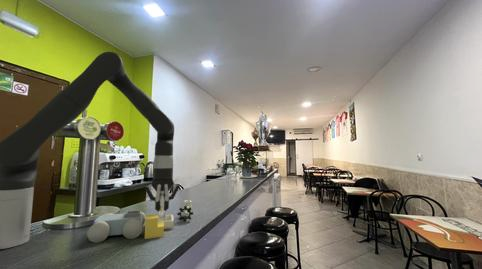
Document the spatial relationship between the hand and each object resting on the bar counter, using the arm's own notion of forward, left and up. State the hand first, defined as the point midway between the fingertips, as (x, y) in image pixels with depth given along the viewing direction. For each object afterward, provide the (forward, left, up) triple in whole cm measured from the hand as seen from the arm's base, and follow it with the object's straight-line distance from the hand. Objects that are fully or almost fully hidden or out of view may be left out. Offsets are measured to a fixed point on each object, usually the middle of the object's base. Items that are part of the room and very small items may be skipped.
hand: (161, 210), depth 86 cm
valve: (+10, +9, -6) cm, 15 cm away
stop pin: (0, 0, -3) cm, 3 cm away
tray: (0, 0, -6) cm, 6 cm away
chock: (-2, -9, -6) cm, 11 cm away
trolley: (-14, -4, -6) cm, 16 cm away
